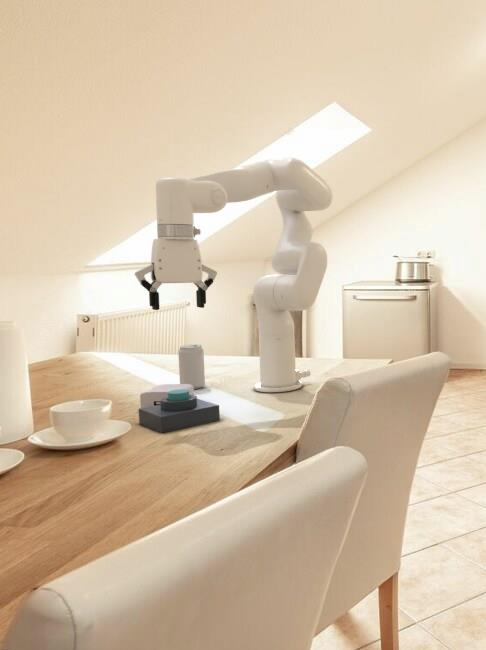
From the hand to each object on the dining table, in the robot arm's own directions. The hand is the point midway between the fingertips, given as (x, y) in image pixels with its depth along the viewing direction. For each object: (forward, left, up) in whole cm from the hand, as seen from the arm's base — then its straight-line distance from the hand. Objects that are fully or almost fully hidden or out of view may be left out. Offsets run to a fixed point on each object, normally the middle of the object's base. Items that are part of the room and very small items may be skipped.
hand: (178, 308), depth 144 cm
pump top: (+3, +4, -20) cm, 21 cm away
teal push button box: (+3, +4, -25) cm, 26 cm away
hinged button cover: (-4, -14, -26) cm, 29 cm away
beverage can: (-16, -28, -26) cm, 41 cm away
